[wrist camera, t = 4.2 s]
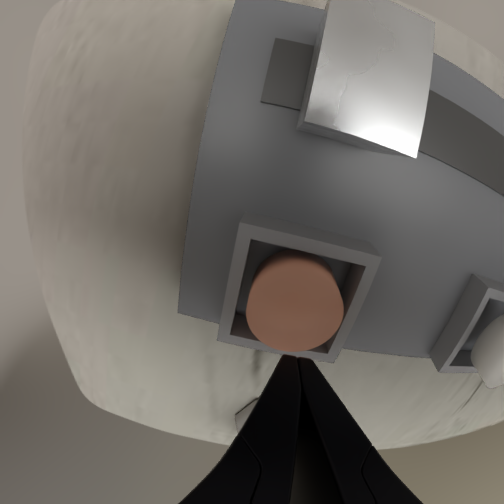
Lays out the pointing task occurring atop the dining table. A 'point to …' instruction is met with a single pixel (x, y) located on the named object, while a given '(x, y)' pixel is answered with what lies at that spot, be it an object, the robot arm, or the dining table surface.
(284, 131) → the panel
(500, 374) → the grey button
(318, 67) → the rough gray brick
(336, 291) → the terracotta button
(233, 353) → the dining table surface
